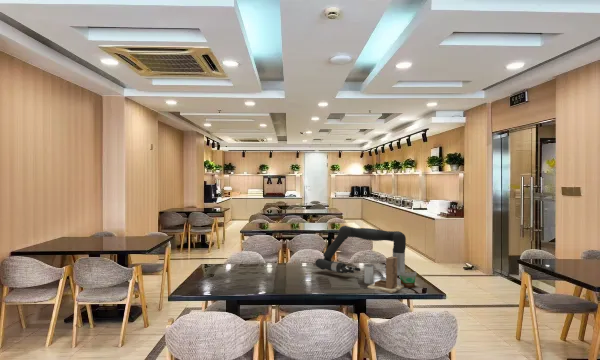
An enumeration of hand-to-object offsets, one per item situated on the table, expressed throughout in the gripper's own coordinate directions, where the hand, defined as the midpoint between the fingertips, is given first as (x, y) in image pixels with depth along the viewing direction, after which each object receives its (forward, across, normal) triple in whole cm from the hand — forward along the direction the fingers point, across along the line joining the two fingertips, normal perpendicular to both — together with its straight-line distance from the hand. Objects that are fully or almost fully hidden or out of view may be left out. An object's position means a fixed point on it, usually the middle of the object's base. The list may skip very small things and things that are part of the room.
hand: (356, 270), depth 276 cm
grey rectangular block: (+10, 0, +7) cm, 12 cm away
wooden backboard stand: (+25, -3, +7) cm, 26 cm away
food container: (+36, +10, +7) cm, 38 cm away
